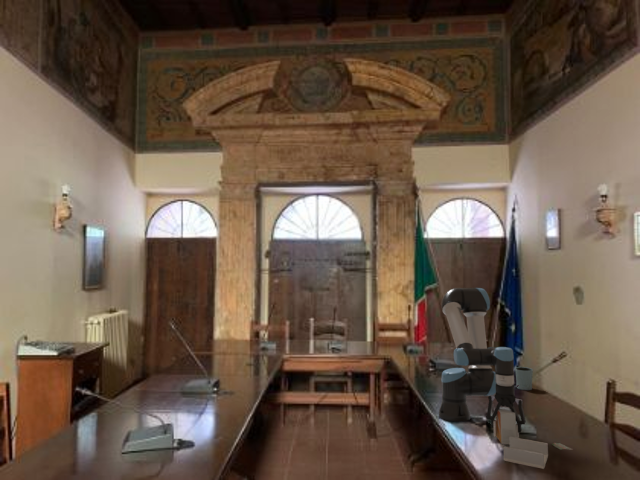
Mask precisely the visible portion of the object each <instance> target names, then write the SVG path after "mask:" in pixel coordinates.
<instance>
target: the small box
mask: <svg viewBox="0 0 640 480" xmlns="http://www.w3.org/2000/svg"><path fill="white" fill-rule="evenodd" d="M495 420H497V436H496V438H497V440H499V443H500V444H502V445H510V442H509V437H516V423H517V422H516V416H515V413H514V412H512V411H511V410H510V408H509V407H505V406H500V408H499V410H498V412H497V415H496V417H495Z"/></svg>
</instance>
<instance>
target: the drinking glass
mask: <svg viewBox="0 0 640 480" xmlns="http://www.w3.org/2000/svg"><path fill="white" fill-rule="evenodd" d="M514 372H515V381H516V388H517V389H518V390H521V391H532V390H533V373H534V370H533V368H530V367H524V366H518V367H514ZM517 385H519V386H518V387H517Z"/></svg>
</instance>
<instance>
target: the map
mask: <svg viewBox="0 0 640 480" xmlns="http://www.w3.org/2000/svg"><path fill="white" fill-rule="evenodd" d="M551 445H552V446H553V447H554V448H557V449H559V450H560V451H562V450H570V451H571V450H574V449H573V448H571V447H569V446H566V445H564V444H562V443H560V442H559V443H558V442H552V444H551Z"/></svg>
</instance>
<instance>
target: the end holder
mask: <svg viewBox="0 0 640 480" xmlns="http://www.w3.org/2000/svg"><path fill="white" fill-rule="evenodd" d="M509 442H510V444H509V446H506V445H505V446H503V448H502V449H503V461H506V462H509V463H514V464H519V465H523V466H527V467H528V466H529V467H532V468H538V469H542V470H545V467H546V463H547V461H548V458H549V446H548V445H549V443H547V442H542V441H537V440H531V439H528V438H527V439H526V438H520V437H519V438H516V437H509Z"/></svg>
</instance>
